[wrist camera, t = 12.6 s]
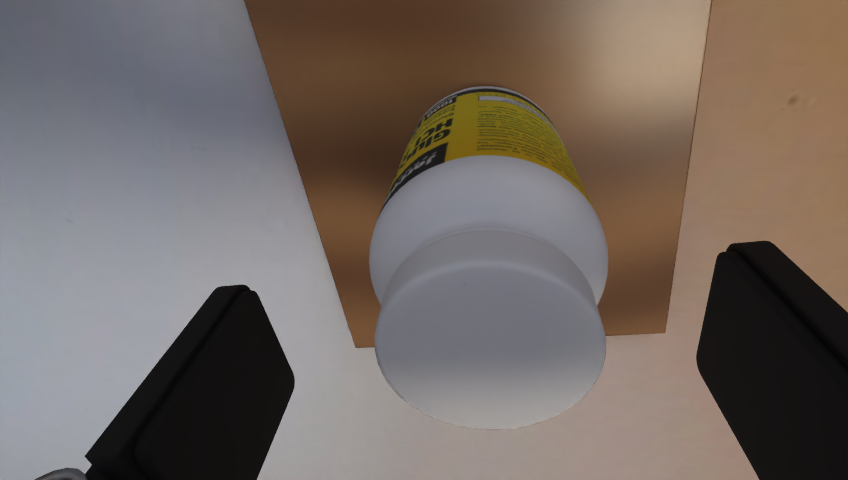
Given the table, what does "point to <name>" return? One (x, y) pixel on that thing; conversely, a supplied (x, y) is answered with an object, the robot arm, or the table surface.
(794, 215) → the table surface
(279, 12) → the board
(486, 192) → the pill bottle
